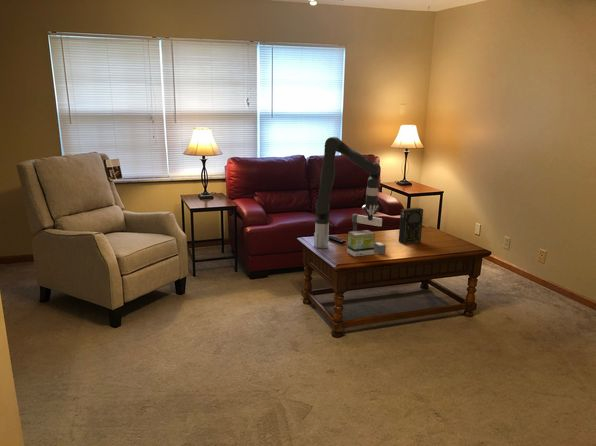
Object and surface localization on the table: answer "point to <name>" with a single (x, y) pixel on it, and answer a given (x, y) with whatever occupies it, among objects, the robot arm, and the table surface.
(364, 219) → the bar
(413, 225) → the dark grey tall block
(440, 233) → the table surface
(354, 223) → the arm post
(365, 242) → the tea box
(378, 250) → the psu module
